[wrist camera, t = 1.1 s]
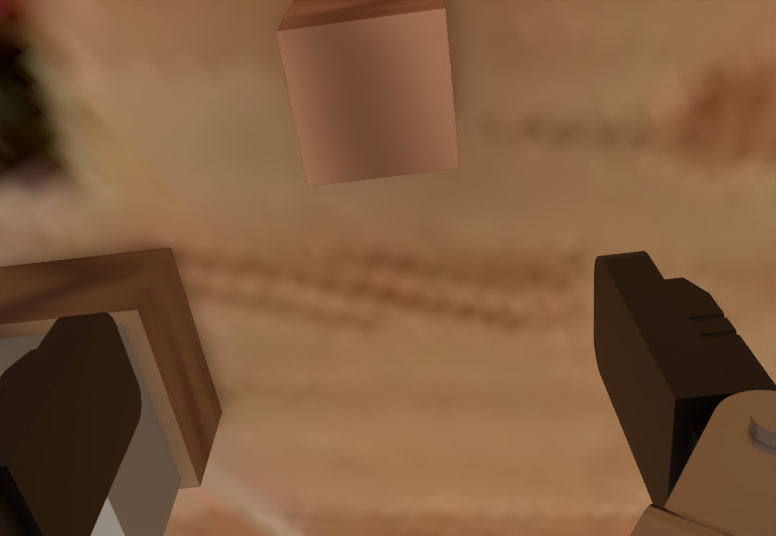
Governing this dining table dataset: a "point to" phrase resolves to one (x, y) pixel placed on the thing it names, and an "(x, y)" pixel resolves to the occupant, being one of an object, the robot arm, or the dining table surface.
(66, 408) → the robot arm
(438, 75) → the terracotta cube
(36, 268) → the tower bottom
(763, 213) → the dining table surface
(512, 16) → the dining table surface
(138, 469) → the tower top
